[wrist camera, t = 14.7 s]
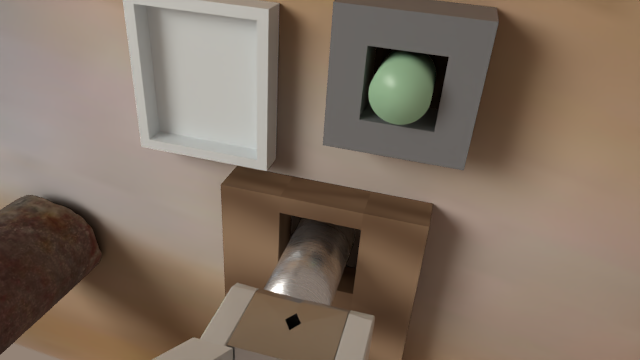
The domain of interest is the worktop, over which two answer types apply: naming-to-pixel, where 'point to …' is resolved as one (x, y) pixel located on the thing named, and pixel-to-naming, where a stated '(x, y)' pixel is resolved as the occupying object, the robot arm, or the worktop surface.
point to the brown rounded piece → (39, 261)
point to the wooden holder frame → (341, 209)
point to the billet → (313, 261)
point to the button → (403, 87)
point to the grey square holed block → (415, 36)
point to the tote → (206, 77)
